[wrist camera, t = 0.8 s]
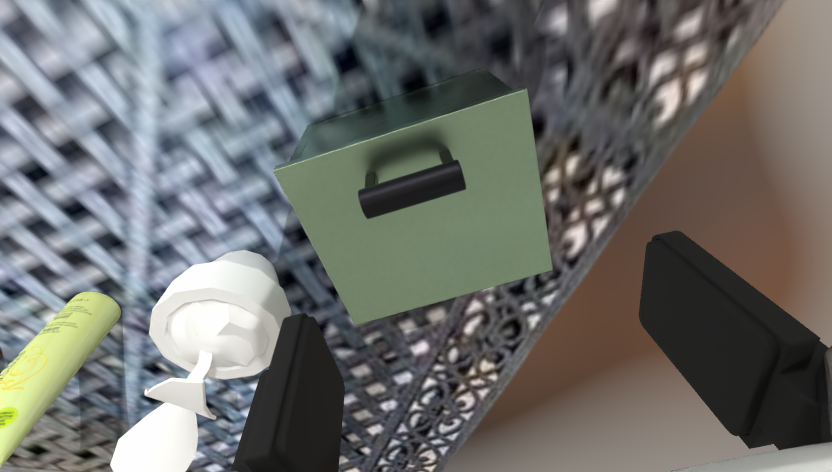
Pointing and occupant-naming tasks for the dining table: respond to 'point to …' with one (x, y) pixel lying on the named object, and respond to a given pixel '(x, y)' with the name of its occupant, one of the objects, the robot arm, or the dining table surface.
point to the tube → (50, 364)
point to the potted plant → (204, 352)
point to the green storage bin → (399, 111)
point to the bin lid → (426, 207)
